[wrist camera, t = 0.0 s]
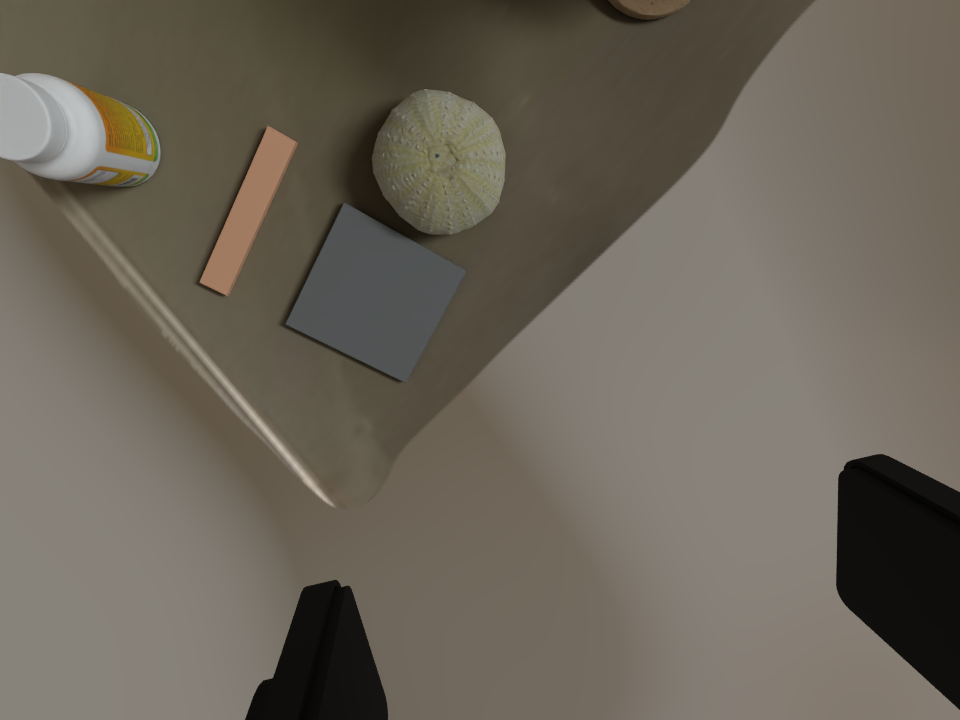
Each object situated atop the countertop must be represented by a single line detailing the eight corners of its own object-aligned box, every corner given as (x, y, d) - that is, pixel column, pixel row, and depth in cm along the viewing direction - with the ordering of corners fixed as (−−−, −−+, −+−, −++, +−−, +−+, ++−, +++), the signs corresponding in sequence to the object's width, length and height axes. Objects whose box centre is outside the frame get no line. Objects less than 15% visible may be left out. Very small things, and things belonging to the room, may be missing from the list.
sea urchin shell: (409, 264, 36) (369, 180, 29) (385, 192, 40) (344, 101, 33) (527, 220, 36) (517, 124, 29) (492, 151, 40) (475, 52, 33)
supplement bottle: (98, 83, 33) (-32, 28, 23) (177, 135, 34) (84, 103, 25) (62, 155, 34) (-77, 130, 24) (141, 203, 35) (38, 197, 26)
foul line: (270, 127, 34) (267, 125, 34) (298, 143, 35) (295, 141, 34) (203, 281, 37) (199, 282, 36) (229, 294, 37) (226, 295, 36)
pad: (345, 202, 36) (344, 202, 36) (465, 270, 38) (466, 271, 38) (287, 322, 38) (285, 324, 37) (405, 380, 40) (405, 382, 40)
